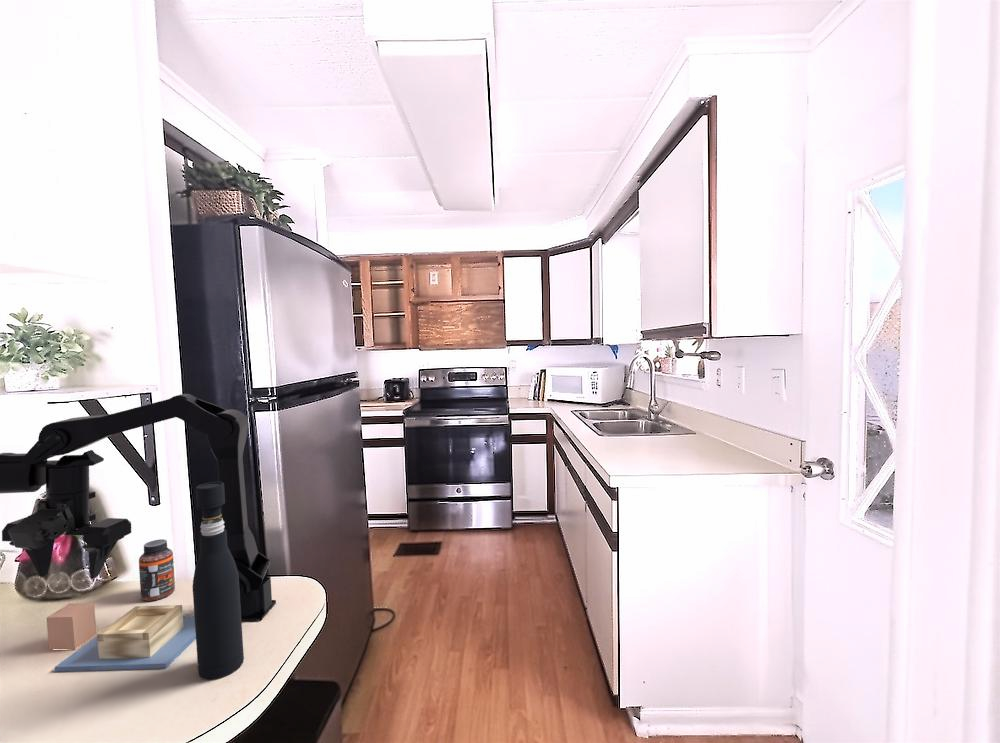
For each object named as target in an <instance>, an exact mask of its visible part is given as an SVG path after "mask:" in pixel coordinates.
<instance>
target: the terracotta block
mask: <svg viewBox="0 0 1000 743" xmlns="http://www.w3.org/2000/svg"><path fill="white" fill-rule="evenodd" d="M45 619H46V628H47V629H46V630H47V640H48V641H47V642H48V651H49V650H53V649H76V648H77V647H78V648H80V647H81V646H83V645H84V644H86V643H87V642H89V640H92V639H93V637H94V638H95V637H96V636H97V634H98V632H97V623H96V610H95V602H82V603H81V602H78V603H76V602H73V603H68V604H66V605H65V606H63V607H61V608H60V609H58V610H56V611H55V612H53V613H52V614H50V615H48V616H46V617H45ZM86 641H87V642H86ZM83 643H84V644H83ZM82 644H83V645H82ZM80 645H81V646H80ZM79 646H80V647H79ZM78 648H77V649H78ZM77 649H76V650H77Z"/></svg>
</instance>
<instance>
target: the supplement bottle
mask: <svg viewBox="0 0 1000 743" xmlns="http://www.w3.org/2000/svg"><path fill="white" fill-rule="evenodd" d="M167 541H168V540H167V539H161V538H160V539H154V540H150V541H148V542H145V543H144V544H143V553H142V554H141V555H140V556H139V557H138V558H139V559H138V569H139V570H138V571H139V572H138V573H139V587H140V588H139V589H140V598H141V600H143V601H148V602H150V601H157V600H162V599H164V598H167V597H169V596H170V595H171V594H173V593H174V592H175V589H176V581H175V579H176V577H175V565H174V563H175V561H174V551H173V550H172V549H171V548H169V547H168V542H167Z"/></svg>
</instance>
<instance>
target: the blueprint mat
mask: <svg viewBox="0 0 1000 743" xmlns="http://www.w3.org/2000/svg"><path fill="white" fill-rule="evenodd" d="M183 625H184V627H183V628H182V629H181V630H180V631H179V632H178V633H177V634H175V635H174V636H173V637H172V638H171V639H170V640H169V641H168V642H167V643H166V644H164V645H163V646H162V647H161V648H160V649H159V650H158V651H157V652H156V653H154V654H153V655H152V656H151V657H142V658H110V659H99V652H98V640H97V635H95V636H94V638H91V639H90V641H89V640H88V641H87V642H86V643H84V644H83V645H82V646H80V647H79V648H78V649H76V650H75V651H74V652H73V653H72V654H70V655H69V656H68V657H66V658H64V659H63V660H62V661H61V662H59V663H58V664H57V665H55V666H54V672H55V673H59V672H61V673H63V672H87V671H88V672H89V671H90V672H91V671H94V672H95V671H119V670H121V671H122V670H123V671H124V670H149V669H153V670H154V669H167V668H168V667H169V666H170V665H171V664H172V663H173V662H175V660H177V658H178V657H179V656H180V655H182V653H184V651H186V649H187V648H188V647H189V646H190V645H191V644H192V643H193V642H195V641H196V631H195V617H194V615H183ZM174 659H175V660H174Z"/></svg>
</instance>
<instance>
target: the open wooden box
mask: <svg viewBox="0 0 1000 743" xmlns="http://www.w3.org/2000/svg"><path fill="white" fill-rule="evenodd" d="M183 616H184V613H183V605H182V604H173V605H171V604H170V605H169V604H168V605H141V606H139V605H138V606H137V605H136V606H134V607H132V608H131V609H130V610H129V611H127V612H125V613H124V614H123V615H121V616H120V617H118V618H117V619H116V620H115V621H114V622H112V623H110V624H109V625H108V626H107V627H105V628H103V630H100V632H97V634H96V636H97V640H98V652H99V659H110V658H142V657H151V656H152V655H153V654H154V653H156V652H157V651H158V650H159V649H160V648H161V647H162V646H163V645H164V644H166V643H167V642H168V641H169V640H170V639H171V638H172V637H173V636H174V635H175V634H177V633H178V632H179V631H180V630H181V629H182V628H183V627H184V625H183Z"/></svg>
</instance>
